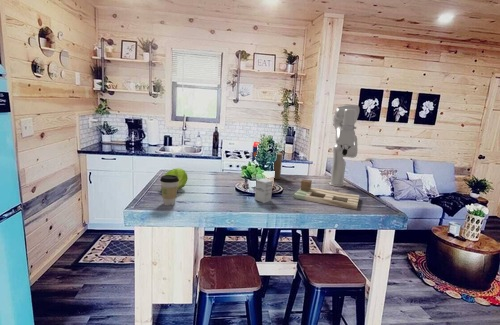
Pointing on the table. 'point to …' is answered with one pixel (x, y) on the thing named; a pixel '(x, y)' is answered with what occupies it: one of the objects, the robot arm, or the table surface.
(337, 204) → the board
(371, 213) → the table surface
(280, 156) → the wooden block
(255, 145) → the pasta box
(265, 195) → the supplement box
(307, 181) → the walnut cube
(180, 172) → the lettuce
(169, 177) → the coffee cup
